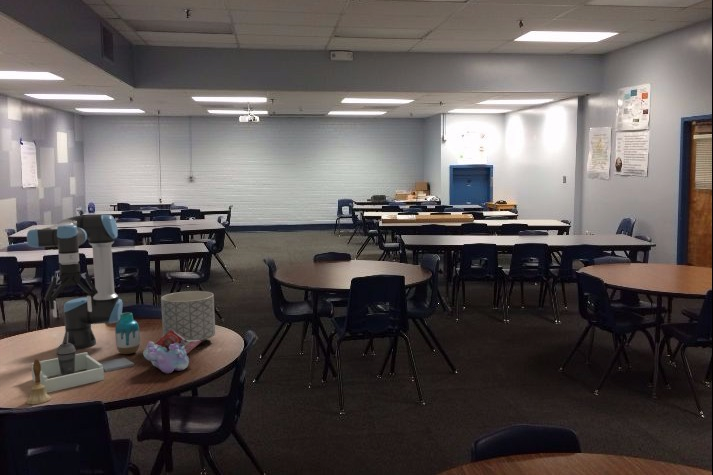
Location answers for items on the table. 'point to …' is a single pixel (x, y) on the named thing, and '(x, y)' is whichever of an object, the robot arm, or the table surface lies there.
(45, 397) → the hand bell
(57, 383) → the frame
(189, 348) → the pastel lumpy cloud blob
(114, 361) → the slate tile
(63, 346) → the beverage cup
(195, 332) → the planter
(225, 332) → the table surface
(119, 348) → the vase
